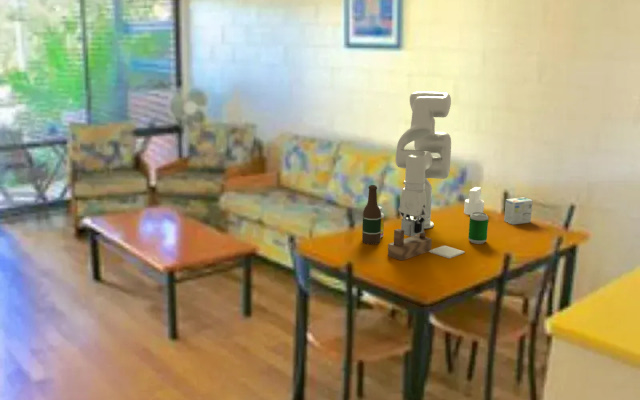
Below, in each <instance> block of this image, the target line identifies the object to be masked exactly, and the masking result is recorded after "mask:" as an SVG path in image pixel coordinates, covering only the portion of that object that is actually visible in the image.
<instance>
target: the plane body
mask: <svg viewBox="0 0 640 400" xmlns="http://www.w3.org/2000/svg"><path fill="white" fill-rule="evenodd" d="M426 234H427V233H426V232H425V231H424V232H423V233H420V234H418V235H415V236H412V237H410V236H408V237H407V238H405V235H404V230H401V228H397V229H394V231H393V242H390V243H388V246H387V256H388V257H389V258H393V259H396V260H399V261H405V260H407V259H410V258H413V257H416V256H419V255H422V254H425V253H429V250H432V243H433V242H432V241H433V239H432V238H430V237H427V236H426Z"/></svg>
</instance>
